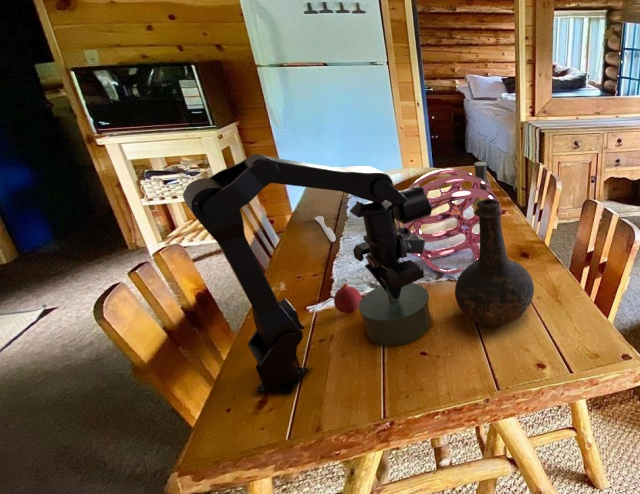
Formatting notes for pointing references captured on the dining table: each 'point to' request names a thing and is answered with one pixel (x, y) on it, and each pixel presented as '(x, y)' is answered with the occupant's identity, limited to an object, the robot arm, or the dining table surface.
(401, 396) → the dining table surface
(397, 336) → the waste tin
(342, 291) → the onion
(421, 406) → the dining table surface
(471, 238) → the pink openwork sphere
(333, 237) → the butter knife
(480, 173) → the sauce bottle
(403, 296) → the tin lid
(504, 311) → the glass bottle
